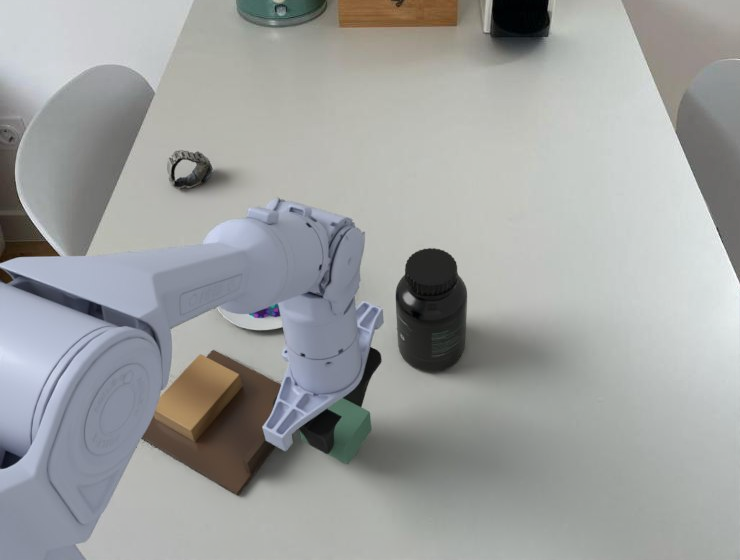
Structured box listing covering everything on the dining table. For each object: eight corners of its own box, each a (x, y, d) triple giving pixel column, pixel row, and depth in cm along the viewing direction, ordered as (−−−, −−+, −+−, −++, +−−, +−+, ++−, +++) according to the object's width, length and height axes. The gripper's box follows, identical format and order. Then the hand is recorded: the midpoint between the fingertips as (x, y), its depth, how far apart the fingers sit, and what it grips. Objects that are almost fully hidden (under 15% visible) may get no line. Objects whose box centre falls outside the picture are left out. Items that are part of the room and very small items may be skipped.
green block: (347, 465, 71) (345, 447, 69) (301, 440, 73) (297, 421, 71) (371, 430, 73) (370, 411, 71) (326, 406, 75) (323, 388, 73)
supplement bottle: (389, 330, 84) (384, 250, 76) (450, 312, 86) (451, 232, 78) (411, 382, 79) (408, 303, 71) (475, 362, 81) (480, 282, 73)
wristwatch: (197, 197, 102) (216, 165, 101) (160, 183, 99) (180, 151, 98) (191, 184, 105) (211, 153, 103) (155, 171, 101) (174, 139, 100)
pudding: (347, 280, 89) (344, 247, 86) (274, 353, 82) (266, 320, 79) (267, 236, 95) (261, 203, 91) (192, 301, 88) (181, 269, 84)
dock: (238, 496, 71) (232, 481, 69) (137, 436, 76) (130, 421, 74) (310, 402, 78) (307, 386, 76) (214, 352, 83) (209, 337, 81)
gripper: (330, 253, 69) (343, 350, 78) (220, 377, 60) (249, 471, 69) (402, 283, 66) (406, 380, 76) (298, 417, 57) (317, 509, 66)
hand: (335, 426), depth 72 cm, fingers closed on green block, 4 cm apart
